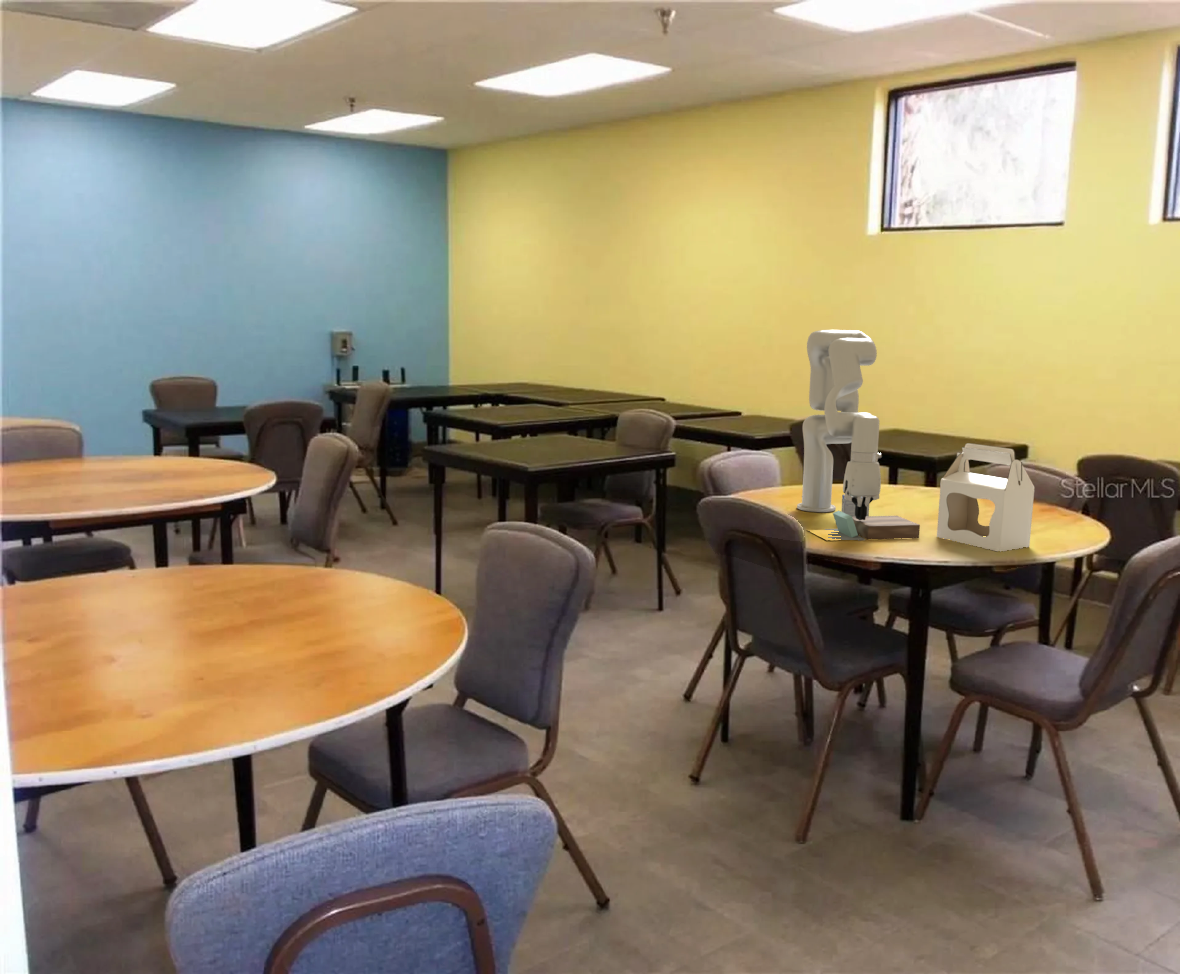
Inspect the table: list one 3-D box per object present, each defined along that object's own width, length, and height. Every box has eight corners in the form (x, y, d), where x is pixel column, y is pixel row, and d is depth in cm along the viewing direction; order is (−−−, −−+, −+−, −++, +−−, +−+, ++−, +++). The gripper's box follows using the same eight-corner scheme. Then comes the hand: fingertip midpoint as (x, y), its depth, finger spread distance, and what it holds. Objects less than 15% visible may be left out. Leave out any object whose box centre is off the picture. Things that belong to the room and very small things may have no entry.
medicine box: (866, 521, 323) (867, 494, 321) (868, 524, 318) (870, 497, 317) (840, 521, 324) (842, 494, 322) (842, 523, 319) (844, 496, 318)
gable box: (935, 537, 301) (942, 442, 297) (965, 532, 308) (972, 440, 304) (1000, 552, 283) (1008, 452, 278) (1030, 547, 290) (1039, 449, 285)
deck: (847, 529, 310) (847, 516, 309) (896, 528, 313) (897, 515, 312) (867, 539, 296) (868, 526, 296) (918, 538, 299) (919, 524, 299)
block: (844, 528, 307) (838, 531, 306) (838, 510, 305) (832, 513, 305) (858, 534, 298) (851, 537, 298) (851, 516, 296) (845, 519, 296)
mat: (806, 530, 308) (806, 529, 308) (843, 529, 310) (843, 528, 310) (826, 541, 294) (826, 540, 293) (865, 540, 296) (865, 539, 296)
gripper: (881, 455, 305) (877, 516, 308) (834, 456, 302) (831, 517, 305) (893, 459, 297) (889, 521, 300) (845, 459, 294) (842, 522, 297)
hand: (860, 519), depth 303 cm, fingers closed
